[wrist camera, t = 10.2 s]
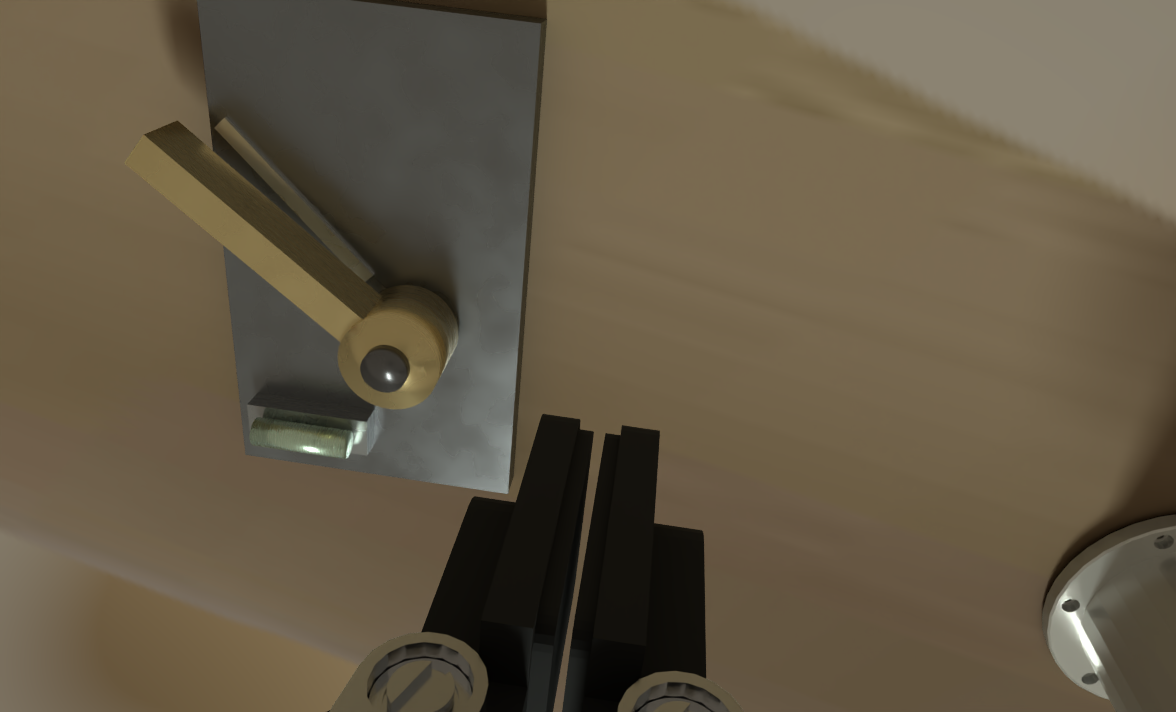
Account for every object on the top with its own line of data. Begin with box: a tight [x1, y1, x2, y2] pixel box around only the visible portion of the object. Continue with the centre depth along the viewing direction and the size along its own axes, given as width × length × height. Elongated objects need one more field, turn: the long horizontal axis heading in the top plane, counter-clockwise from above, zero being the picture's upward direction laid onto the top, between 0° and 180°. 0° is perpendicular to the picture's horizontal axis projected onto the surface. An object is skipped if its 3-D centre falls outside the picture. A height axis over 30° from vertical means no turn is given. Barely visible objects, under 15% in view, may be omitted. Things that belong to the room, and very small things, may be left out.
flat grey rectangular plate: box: [197, 0, 547, 494], centre depth 39 cm, size 14×23×4 cm, turn 174°
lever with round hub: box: [125, 121, 459, 409], centre depth 37 cm, size 4×15×4 cm, turn 46°
